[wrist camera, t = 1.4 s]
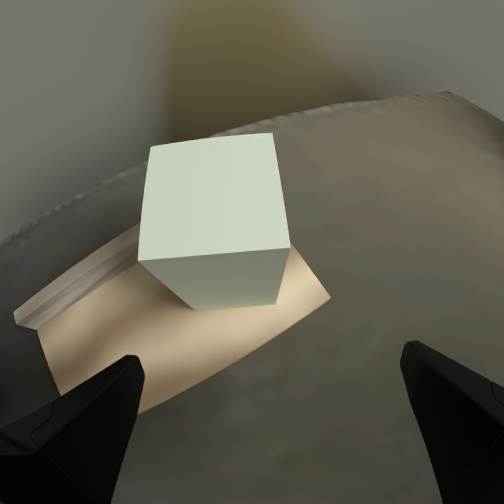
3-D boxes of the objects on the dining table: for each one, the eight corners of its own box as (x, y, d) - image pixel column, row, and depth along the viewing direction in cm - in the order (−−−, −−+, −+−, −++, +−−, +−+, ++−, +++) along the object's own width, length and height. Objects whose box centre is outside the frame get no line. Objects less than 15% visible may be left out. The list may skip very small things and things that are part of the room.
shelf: (326, 301, 23) (341, 287, 18) (90, 436, 18) (62, 444, 14) (245, 191, 26) (242, 161, 22) (42, 319, 22) (12, 309, 18)
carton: (275, 304, 21) (290, 247, 11) (195, 310, 21) (137, 260, 11) (267, 228, 23) (271, 130, 13) (193, 235, 23) (151, 144, 13)
